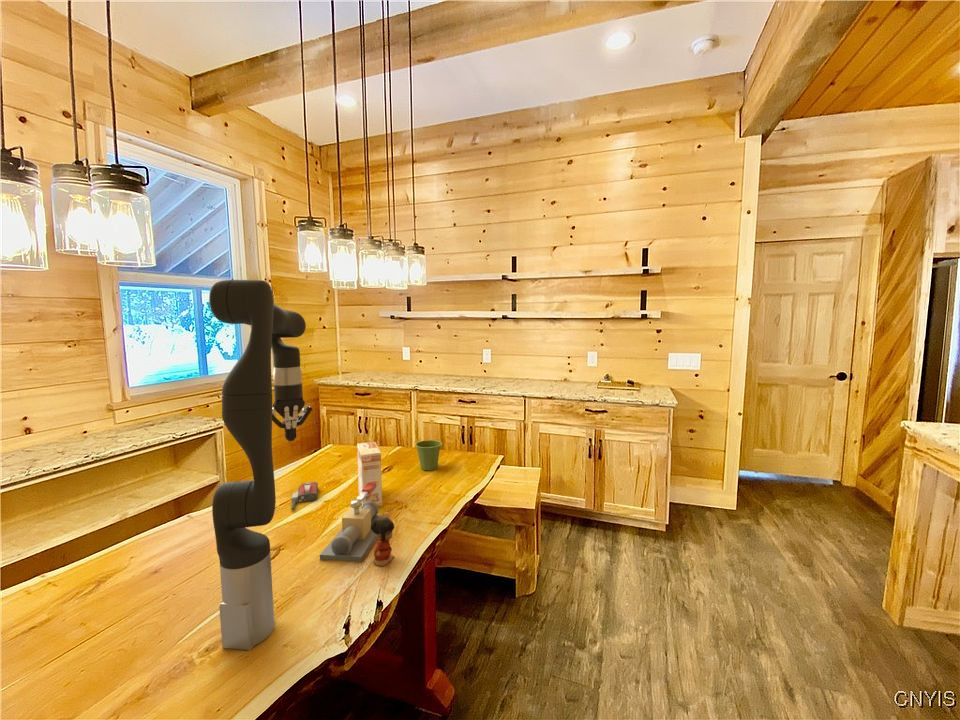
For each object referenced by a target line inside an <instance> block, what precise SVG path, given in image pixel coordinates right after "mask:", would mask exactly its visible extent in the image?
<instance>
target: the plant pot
mask: <svg viewBox="0 0 960 720" xmlns="http://www.w3.org/2000/svg"><path fill="white" fill-rule="evenodd" d="M414 445H415V447H416V451H417V453H418V459H419V465H420V469H421V471H434V470H436V469H437V468H438V466H439V465H438V464H439V457H440V451H441V447H442V445H443V442H441V441H439V440H435V439H426V440H420V441H417V442H416V443H415V444H414Z"/></svg>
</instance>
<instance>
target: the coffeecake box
mask: <svg viewBox="0 0 960 720" xmlns="http://www.w3.org/2000/svg"><path fill="white" fill-rule="evenodd" d="M356 447H357V476H358V477H357V479H358V486H357V487H358V496H359V495H360V494H361V493H362V489H363V488H364V487H365V486H366V484H367V483H368V482H376V489H375V490H374V491H373V492H372V493H371V495H367V496H366V498H365V499H364V500H363V501H362V506H363V504H364V503H365V502H367V501H373V502H375V503H376V504H377V505H378V507H382V506H383V495H382V494H383V493H382V490H383V489H382V483H383V482H382V453H381V450H380V448H379V446H378V444H377V442H376V441H370V442H368V441H367V442H362V443H361V442H360V443H356ZM362 506H361V507H362Z"/></svg>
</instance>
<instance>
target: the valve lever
mask: <svg viewBox="0 0 960 720" xmlns="http://www.w3.org/2000/svg"><path fill="white" fill-rule="evenodd" d="M375 489H376V482H368V483H367V484H366V486H365V487H364V488H363V489H362V493H361V494H360V495H359V494H358V496H357V498H355V499H352V500H350V508H362V501H363V500H364V499H365V498H366V496H367V495H371V493H372V492H373V491H374V490H375Z"/></svg>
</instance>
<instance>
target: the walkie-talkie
mask: <svg viewBox="0 0 960 720" xmlns="http://www.w3.org/2000/svg"><path fill="white" fill-rule="evenodd" d="M318 486H319V485H318V482H316V481H311V482H304V483H302V484H300V485H299V487H298V490H297V491H294V492H293V493H292V495H291V498H290V499H291V500H290V501H291V507H290V510H291V511H294V510H295V508H296V507H295V506H296V503H303V502H304V503H305V502H311V501H316V500H318V494H319V493H318V490H319V489H318Z"/></svg>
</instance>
